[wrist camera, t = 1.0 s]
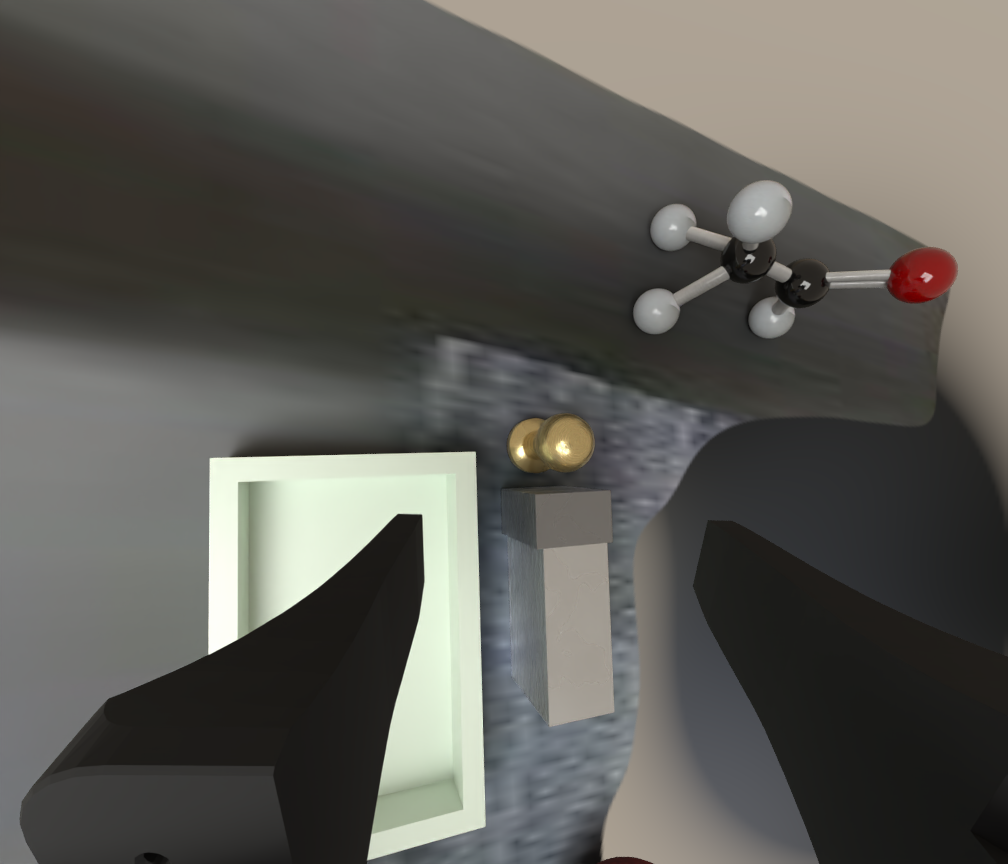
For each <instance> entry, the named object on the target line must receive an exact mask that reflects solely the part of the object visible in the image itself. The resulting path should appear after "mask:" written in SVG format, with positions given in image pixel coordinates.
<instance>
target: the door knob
mask: <svg viewBox="0 0 1008 864" xmlns="http://www.w3.org/2000/svg"><path fill="white" fill-rule="evenodd" d="M594 448H595V438H594V434H593V431H592V429H591V427H590V426H589V425H588V423H587V422H586V421H585V420H583V419H582V418H581V417H579V416H577V415H574V414H570V413H560V414H556V415H553V416H551V417H549V418H548V419H547V420H543V419H539V418H532V419H527V420H524V421H521V422H519V423H518V424H516V425H515V426H514V427H513V429H512V430H511V431H510V433H509V436H508V439H507V452H508V456H509V458H510V460H511V461H512V463H513V464H514V465H515V466H516V467H517V468H518V469H520V470H522V471H524V472H528V473H541V472H544V471H547V470H548V469H550V468H551V469H553V470H555V471H558V472H572V471H575V470H578V469H580V468H581V467H583V466H584V465H585V464H586V463H587V462H588V461H589V460H590V458H591V456H592V454H593V452H594Z"/></svg>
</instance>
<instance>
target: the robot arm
mask: <svg viewBox="0 0 1008 864" xmlns="http://www.w3.org/2000/svg"><path fill="white" fill-rule="evenodd" d="M424 583H425V576H424V547H423V518H422V514H397V515H396V516H395V517H394V518H393V519H392V520H391V521H390V522H389V523H388V524H387V525H386V526H385V527H384V528H383V529H382V530H381V531H380V532H379V533H378V534H377V535H376V536H375V537H374V538H373V539H372V540H371V541H370V542H369V543H368V544H367V545H366V546H365V547H364V548H363V549H362V550H361V551H360V552H359V553H358V554H357V555H355V556H354V557H353V558H352V559H351V560H350V561H349V562H348V563H347V564H346V565H345V566H343V567H342V568H341V569H340V570H339V571H338V572H336V573H335V574H334V575H333V576H332V577H331V578H329V579H328V580H327V581H326V582H325V583H323V584H322V585H321V586H320V587H318V588H317V589H316V590H314V591H313V592H312V593H310V594H309V595H308V596H306V597H305V598H303V599H302V600H301V601H299V602H298V603H296V604H295V605H293V606H292V607H291V608H289V609H287V610H286V611H284V612H283V613H281V614H280V615H278V616H276V617H275V618H273V619H271V620H270V621H268V622H266V623H265V624H263V625H261V626H260V627H258V628H257V629H255V630H253V631H252V632H250V633H248V634H247V635H245V636H243V637H241V638H240V639H238V640H236V641H234V642H232V643H230V644H228V645H227V646H225V647H223V648H221V649H219V650H217V651H215V652H213V653H211V654H209V655H207V656H205V657H203V658H201V659H199V660H197V661H195V662H193V663H191V664H189V665H187V666H184V667H182V668H180V669H178V670H176V671H174V672H171V673H169V674H167V675H164V676H162V677H160V678H157V679H155V680H153V681H150V682H148V683H146V684H143V685H141V686H139V687H136V688H134V689H132V690H129V691H127V692H125V693H122V694H120V695H117V696H114V697H112V698H109V699H108V700H107V701H106V702H105V703H104V704H103V705H102V706H101V707H100V709H99V710H98V711H97V712H96V713H95V714H94V715H93V716H92V718H91V719H90V720H89V721H88V722H87V723H86V724H85V725H84V727H83V728H82V729H81V730H80V731H79V732H78V734H77V735H76V736H75V737H74V738H73V740H72V741H71V742H70V743H69V744H68V745H67V747H66V748H65V749H64V750H63V751H62V752H61V754H60V755H59V756H58V757H57V758H56V759H55V761H54V762H53V763H52V764H51V765H50V766H49V768H48V769H47V770H46V771H45V772H44V773H43V775H42V776H41V777H40V778H39V779H38V780H37V782H36V783H35V784H34V785H33V786H32V788H31V789H30V791H29V792H28V793H27V795H26V796H25V798H24V799H23V801H22V804H21V812H20V825H21V828H22V831H23V834H24V837H25V840H26V842H27V844H28V846H29V848H30V850H31V851H32V853H33V855H34V857H35V858H36V860H37V862H38V864H367V859H368V852H369V846H370V840H371V833H372V827H373V821H374V815H375V809H376V804H377V798H378V792H379V786H380V780H381V774H382V769H383V763H384V757H385V752H386V746H387V741H388V735H389V730H390V725H391V720H392V716H393V712H394V708H395V704H396V700H397V696H398V693H399V689H400V686H401V682H402V678H403V675H404V671H405V668H406V664H407V661H408V657H409V653H410V650H411V646H412V643H413V639H414V635H415V632H416V628H417V624H418V620H419V616H420V609H421V603H422V596H423V589H424ZM693 587H694V590H695V593H696V595H697V598H698V601H699V604H700V606H701V609H702V611H703V614H704V616H705V619H706V621H707V624H708V625H709V627H710V629H711V631H712V633H713V635H714V637H715V639H716V640H717V642H718V644H719V646H720V648H721V650H722V651H723V653H724V655H725V657H726V659H727V660H728V662H729V664H730V666H731V668H732V669H733V671H734V673H735V675H736V677H737V678H738V680H739V682H740V684H741V685H742V687H743V689H744V691H745V693H746V695H747V696H748V698H749V700H750V701H751V703H752V705H753V707H754V709H755V711H756V713H757V715H758V717H759V719H760V721H761V723H762V725H763V727H764V729H765V731H766V733H767V735H768V738H769V740H770V742H771V744H772V747H773V749H774V752H775V754H776V756H777V758H778V761H779V763H780V765H781V768H782V770H783V772H784V775H785V777H786V779H787V782H788V784H789V787H790V789H791V792H792V794H793V797H794V799H795V802H796V804H797V807H798V809H799V811H800V814H801V816H802V819H803V821H804V824H805V826H806V829H807V832H808V834H809V837H810V840H811V842H812V845H813V847H814V850H815V853H816V855H817V858H818V861H819V864H1008V657H1007V656H1004V655H1002V654H999V653H996V652H994V651H991V650H988V649H986V648H983V647H980V646H978V645H975V644H973V643H970V642H968V641H965V640H963V639H961V638H958V637H956V636H953V635H951V634H948V633H946V632H943V631H941V630H938V629H936V628H934V627H931V626H929V625H927V624H924V623H922V622H920V621H918V620H915V619H913V618H911V617H909V616H907V615H905V614H902V613H900V612H898V611H896V610H894V609H892V608H890V607H888V606H885V605H883V604H881V603H879V602H877V601H875V600H873V599H871V598H869V597H867V596H865V595H863V594H861V593H859V592H858V591H856V590H854V589H852V588H850V587H848V586H846V585H845V584H842V583H841V582H839V581H837V580H835V579H833V578H831V577H830V576H828V575H826V574H824V573H822V572H821V571H819V570H817V569H815V568H814V567H812V566H810V565H809V564H807V563H805V562H804V561H802V560H800V559H798V558H797V557H795V556H793V555H792V554H790V553H788V552H787V551H785V550H783V549H782V548H780V547H778V546H776V545H775V544H773V543H771V542H770V541H768V540H766V539H764V538H763V537H761V536H760V535H758V534H756V533H754V532H752V531H751V530H749V529H747V528H745V527H743V526H741V525H739V524H737V523H735V522H733V521H712V520H710V521H709V520H708V523H707V527H706V531H705V536H704V540H703V544H702V549H701V553H700V558H699V562H698V566H697V571H696V576H695V580H694V584H693Z"/></svg>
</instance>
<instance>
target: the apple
mask: <svg viewBox="0 0 1008 864" xmlns="http://www.w3.org/2000/svg"><path fill="white" fill-rule="evenodd" d="M597 864H653V863H651V862H648V861H645V860H642V859H638V858H634V857H615V858H610V859H606V860H604V861H601V862H599V863H597Z"/></svg>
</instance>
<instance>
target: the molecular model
mask: <svg viewBox="0 0 1008 864" xmlns="http://www.w3.org/2000/svg"><path fill="white" fill-rule="evenodd" d="M791 212H792V199H791V196H790V194H789V192H788V190H787V189H786V188H785V187H784V186H783V185H781V184H780V183H778V182H775V181H770V180H763V181H757V182H754V183H751V184H749V185H748V186H746V187H744V188H743V189H742V190H740V191H739V192H738V193H737V194H736V196H735V197H734V198H733V200H732V201H731V203H730V206H729V208H728V212H727V225H728V228H729V230H730V232H731V234H732V235H733V236H734V237H733V238H730V237H727V236H723V235H720V234H717V233H714V232H710V231H707V230H704V229H700V228H697V227H696V217H695V215H694V213H693V212H692V210H691V209H690V208H689V207H687V206H685V205H682V204H670V205H668V206H665V207H664V208H662V209H661V210H660V211H658V213H657V214H656V215H655V216H654V218H653V220H652V223H651V227H650V234H651V238H652V241H653V242H654V244H655V245H656V246H657V247H658V248H660V249H662V250H665V251H676V250H679V249H681V248H683V247H684V246H686V245H687V244H688V243H689V242H690V241H691V242H694V243H697V244H700V245H703V246H706V247H709V248H712V249H716V250H719V251H722V254H721V261H720V262H721V267H719V268H718V269H716V270H714V271H712V272H711V273H709V274H707V275H705V276H704V277H702V278H700V279H699V280H697V281H695V282H693V283H692V284H690V285H688V286H686V287H685V288H683V289H681V290H679V291H678V292H676V293H674V294H673V293H671V292H670V291H668V290H666V289H661V288H655V289H651V290H648V291H646V292H645V293H643V294H642V295H641V296H640V297H639V298H638V299H637V301H636V303H635V305H634V308H633V318H634V321H635V323H636V325H637V326H638V328H639V329H641V330H642V331H643V332H645V333H648V334H662V333H664V332H666V331H668V330H670V329H671V328H672V327H673V326H674V325H675V324H676V322H677V320H678V318H679V315H680V306H681V305H683V304H685V303H686V302H688V301H690V300H692V299H694V298H695V297H697V296H699V295H701V294H703V293H704V292H706V291H708V290H710V289H712V288H713V287H715V286H717V285H719V284H721V283H722V282H724V281H726V280H728V279H730V280H732V281H734V282H737V283H743V284H744V283H752V282H755V281H757V280H759V279H761V278H762V277H764V276H765V275H766V276H768V277H770V278H772V279H775V280H776V283H775V292H776V295H777V297H768V298H765V299H763V300H761V301H759V302H758V303H756V304H755V305H754V307H753V308H752V309H751V311H750V313H749V317H748V323H749V327H750V329H751V330H752V332H753V333H754V334H756V335H757V336H759V337H762V338H767V339H771V338H777V337H779V336H782V335H783V334H785V333H786V332H787V331H788V330H789V329H790V328H791V327H792V325H793V323H794V320H795V311H794V308H806V307H809V306H812V305H814V304H816V303H817V302H819V301H820V300H821V299H822V298H823V297H824V296H825V295H826V294H827V292H828V290H829V289H858V288H887V289H888V291H889V292H890V294H891V295H892V296H893V297H894V298H896V299H897V300H899V301H902V302H905V303H924V302H928V301H931V300H933V299H936V298H938V297H939V296H941V295H943V294H944V293H945V292H946V291H947V290H949V288H950V287H951V286H952V285H953V283H954V281H955V280H956V277H957V273H958V265H957V262H956V260H955V258H954V257H953V256H952V255H951V254H950V253H949V252H947V251H945V250H943V249H940V248H935V247H923V248H918V249H915V250H912V251H910V252H908V253H906V254H904V255H902V256H901V257H900V258H898V259H897V260H896V261H895V262H894V263H893V265H892V266H891V267H890V269H889V270H870V271H847V272H830V271H829V269H828V267H827V266H826V265H825V264H824V263H822V262H821V261H819V260H816V259H810V258H806V259H799V260H796V261H794V262H792V263H790V264H788V265H787V266H784V265H782V264H780V263H778V262H776V261H775V260H776V253H777V252H776V246H775V243H774V241H773V240H772V238H773V237H775V236H776V235H777V234H779V233H780V232H781V231H782V229H783V228H784V227H785V226H786V224H787V222H788V221H789V218H790V216H791Z"/></svg>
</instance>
